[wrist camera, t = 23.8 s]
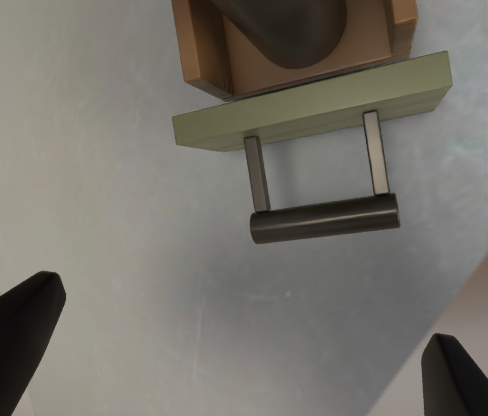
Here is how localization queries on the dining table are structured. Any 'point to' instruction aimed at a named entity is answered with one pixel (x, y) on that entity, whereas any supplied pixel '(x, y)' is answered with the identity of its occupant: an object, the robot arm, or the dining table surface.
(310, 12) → the pepper mill
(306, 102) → the drawer
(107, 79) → the dining table surface
